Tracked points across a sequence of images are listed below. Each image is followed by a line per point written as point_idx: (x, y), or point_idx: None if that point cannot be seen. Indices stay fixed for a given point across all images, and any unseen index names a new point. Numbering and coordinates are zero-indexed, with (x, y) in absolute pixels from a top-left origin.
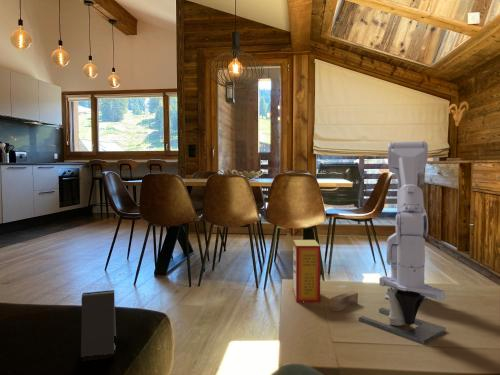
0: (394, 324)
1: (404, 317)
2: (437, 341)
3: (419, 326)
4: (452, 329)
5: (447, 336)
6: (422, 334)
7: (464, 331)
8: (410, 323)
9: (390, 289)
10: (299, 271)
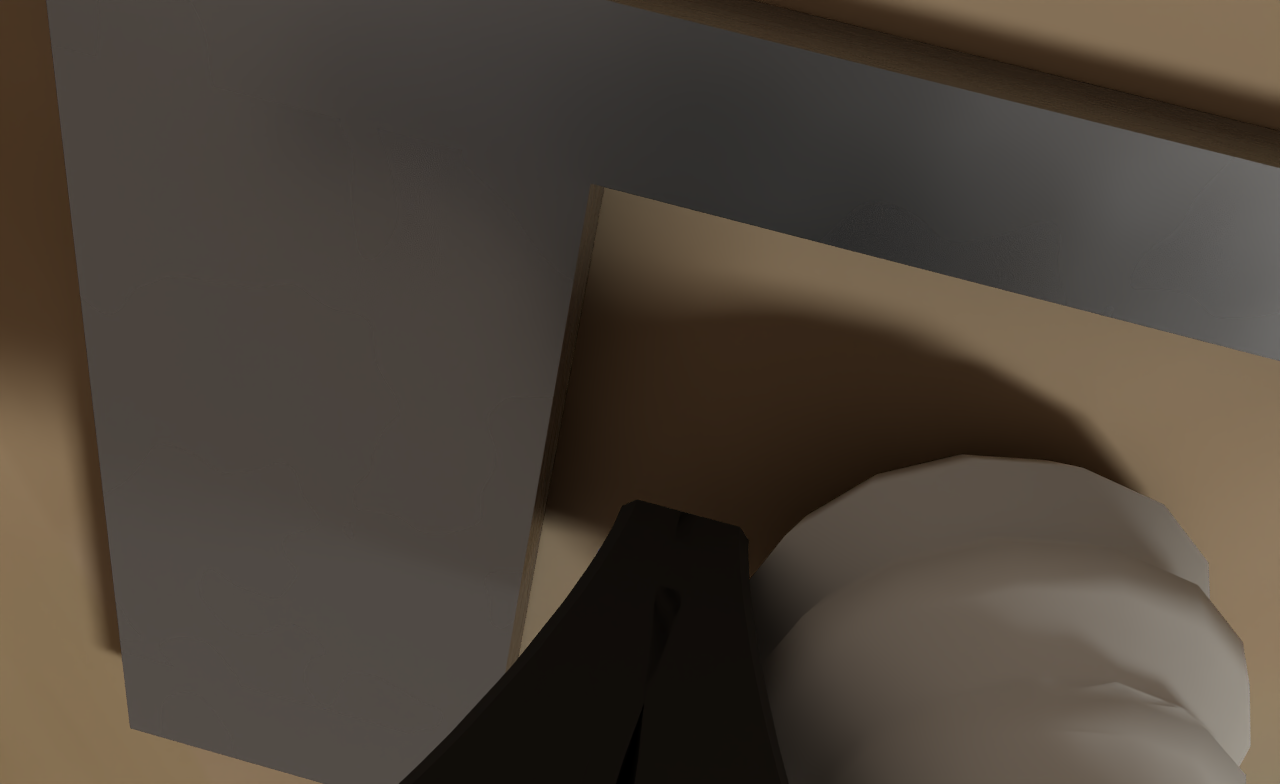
0: (1025, 461)
1: (738, 629)
2: (21, 205)
3: (488, 593)
4: (143, 771)
5: (44, 511)
6: (252, 224)
7: (5, 771)
8: (608, 537)
9: None
10: None
